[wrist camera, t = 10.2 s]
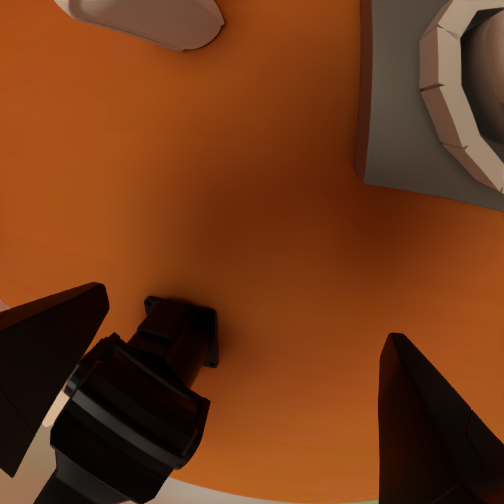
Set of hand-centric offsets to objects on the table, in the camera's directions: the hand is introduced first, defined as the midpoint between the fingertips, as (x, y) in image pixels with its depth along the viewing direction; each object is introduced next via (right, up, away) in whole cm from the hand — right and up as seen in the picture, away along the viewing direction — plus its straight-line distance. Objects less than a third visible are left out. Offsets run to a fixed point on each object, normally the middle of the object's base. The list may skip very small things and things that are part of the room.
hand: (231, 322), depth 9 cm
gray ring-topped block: (+14, +12, +5) cm, 19 cm away
